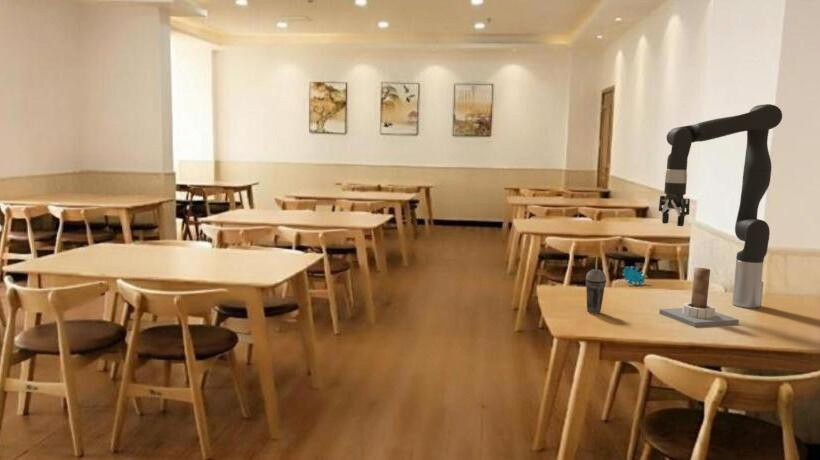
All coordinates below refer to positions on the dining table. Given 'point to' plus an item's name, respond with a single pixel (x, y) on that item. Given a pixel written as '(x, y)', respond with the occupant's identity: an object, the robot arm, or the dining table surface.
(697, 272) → the cylinder
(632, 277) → the blue spiky lump
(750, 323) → the dining table surface
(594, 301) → the beverage cup
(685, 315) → the socket plate
